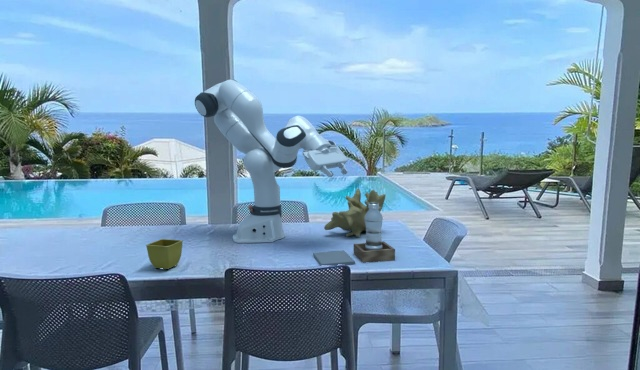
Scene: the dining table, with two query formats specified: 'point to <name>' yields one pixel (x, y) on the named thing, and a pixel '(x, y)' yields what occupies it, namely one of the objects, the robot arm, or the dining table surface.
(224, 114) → the robot arm
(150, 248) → the flower pot
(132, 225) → the dining table surface
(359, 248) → the walnut collar
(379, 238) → the plastic bottle
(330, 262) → the rubber mat
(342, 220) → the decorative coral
